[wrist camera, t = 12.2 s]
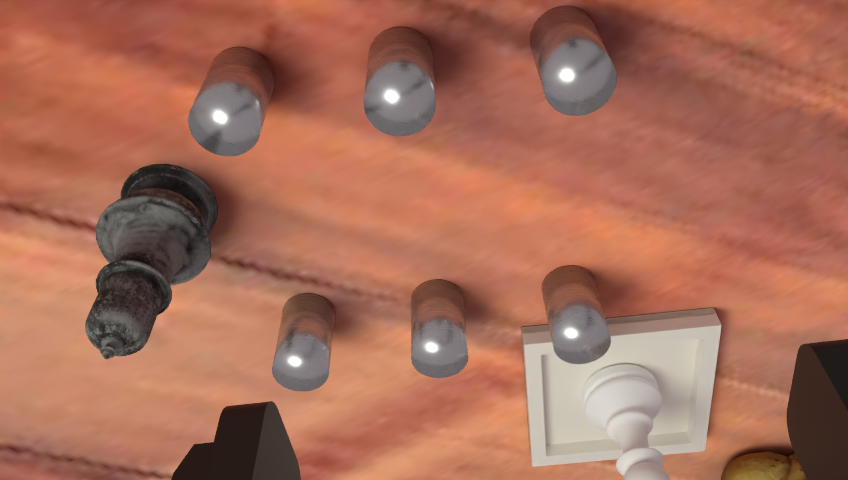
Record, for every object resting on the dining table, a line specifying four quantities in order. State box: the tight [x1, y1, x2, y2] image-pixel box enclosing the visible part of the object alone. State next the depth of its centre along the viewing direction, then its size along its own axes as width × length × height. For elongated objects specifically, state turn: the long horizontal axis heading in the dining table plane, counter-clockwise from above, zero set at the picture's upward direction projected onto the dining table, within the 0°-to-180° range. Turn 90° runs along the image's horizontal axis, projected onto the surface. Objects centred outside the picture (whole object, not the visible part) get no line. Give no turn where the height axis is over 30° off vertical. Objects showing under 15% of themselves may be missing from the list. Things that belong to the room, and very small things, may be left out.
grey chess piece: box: [85, 164, 218, 359], centre depth 40 cm, size 6×6×12 cm
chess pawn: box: [581, 364, 670, 480], centre depth 50 cm, size 5×5×9 cm
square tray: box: [521, 308, 721, 467], centre depth 53 cm, size 12×12×2 cm
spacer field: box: [188, 6, 617, 391], centre depth 43 cm, size 19×19×5 cm
